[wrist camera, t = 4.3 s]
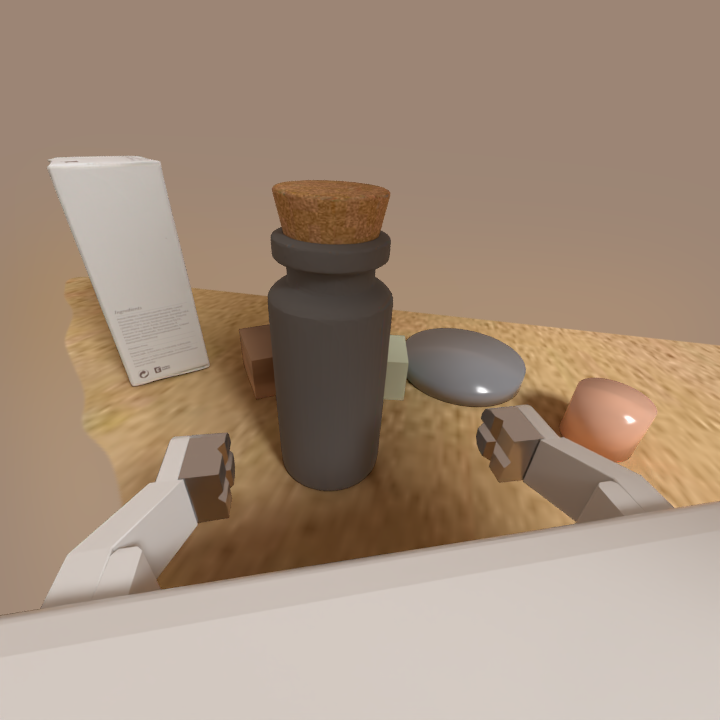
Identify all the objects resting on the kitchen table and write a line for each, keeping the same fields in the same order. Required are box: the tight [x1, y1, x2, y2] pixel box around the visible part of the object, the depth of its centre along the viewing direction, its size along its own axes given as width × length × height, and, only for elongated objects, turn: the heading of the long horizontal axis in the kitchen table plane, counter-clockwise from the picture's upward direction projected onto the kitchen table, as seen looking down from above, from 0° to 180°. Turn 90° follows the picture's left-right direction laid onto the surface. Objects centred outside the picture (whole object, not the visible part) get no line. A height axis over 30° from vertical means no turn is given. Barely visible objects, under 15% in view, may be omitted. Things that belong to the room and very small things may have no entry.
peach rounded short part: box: [559, 378, 657, 462], centre depth 24 cm, size 4×4×4 cm
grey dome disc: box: [406, 328, 526, 407], centre depth 31 cm, size 10×10×1 cm
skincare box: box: [47, 156, 210, 386], centre depth 27 cm, size 8×6×15 cm
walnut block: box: [239, 325, 276, 399], centre depth 29 cm, size 5×5×4 cm
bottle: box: [268, 180, 393, 491], centre depth 19 cm, size 6×6×15 cm
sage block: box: [384, 335, 409, 400], centre depth 28 cm, size 5×4×4 cm
